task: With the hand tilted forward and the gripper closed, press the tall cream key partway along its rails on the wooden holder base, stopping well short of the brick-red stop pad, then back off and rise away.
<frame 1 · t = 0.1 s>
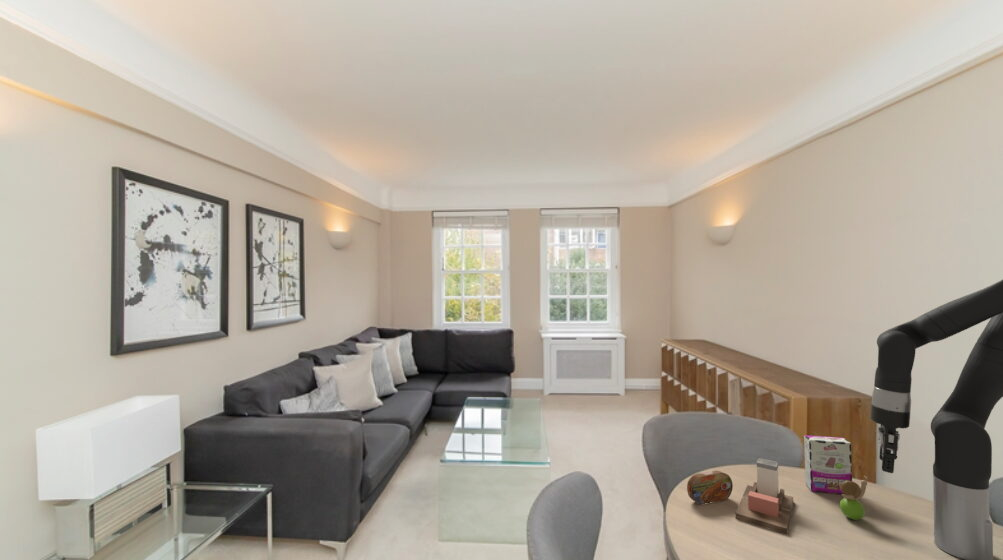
hand: (886, 465, 110), 17 cm above the table, tool pointing down, fingers open, 8 cm apart
candy bar box: (828, 490, 131), on the table
wooden holder base: (765, 509, 121), on the table
tin: (709, 501, 126), on the table
stop pad: (763, 510, 118), resting on wooden holder base
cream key: (767, 478, 125), point 7 cm above the table, slide at 0.0 cm
snail figurine: (854, 519, 116), on the table
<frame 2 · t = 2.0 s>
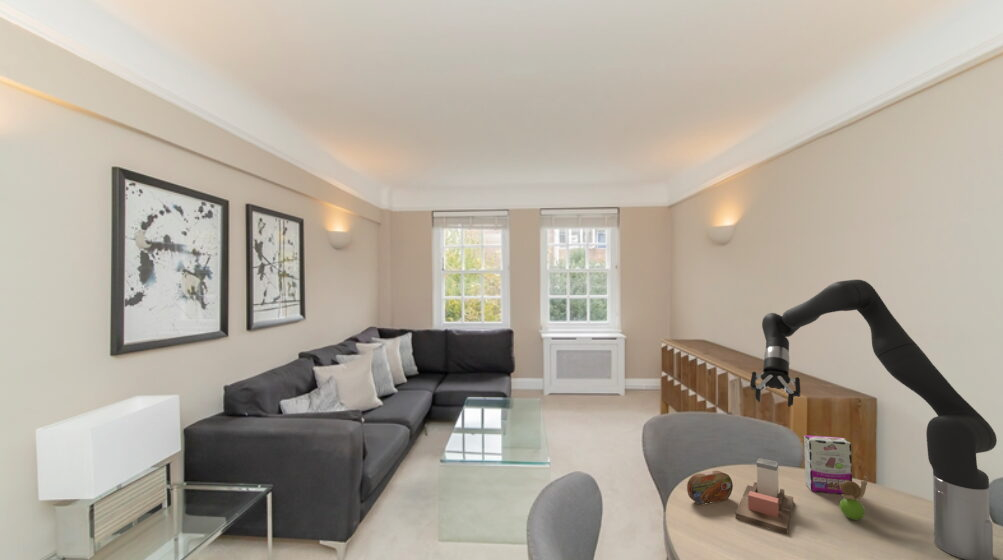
hand: (773, 403, 138), 26 cm above the table, tool tilted 40°, fingers open, 8 cm apart
nothing on the table moved.
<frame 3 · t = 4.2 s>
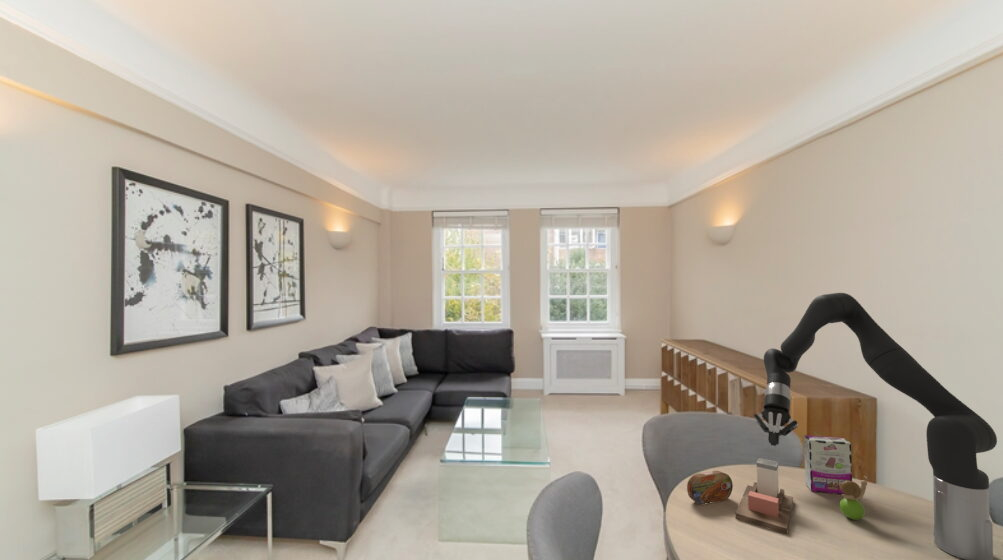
hand: (773, 444, 136), 13 cm above the table, tool tilted 45°, fingers closed
nothing on the table moved.
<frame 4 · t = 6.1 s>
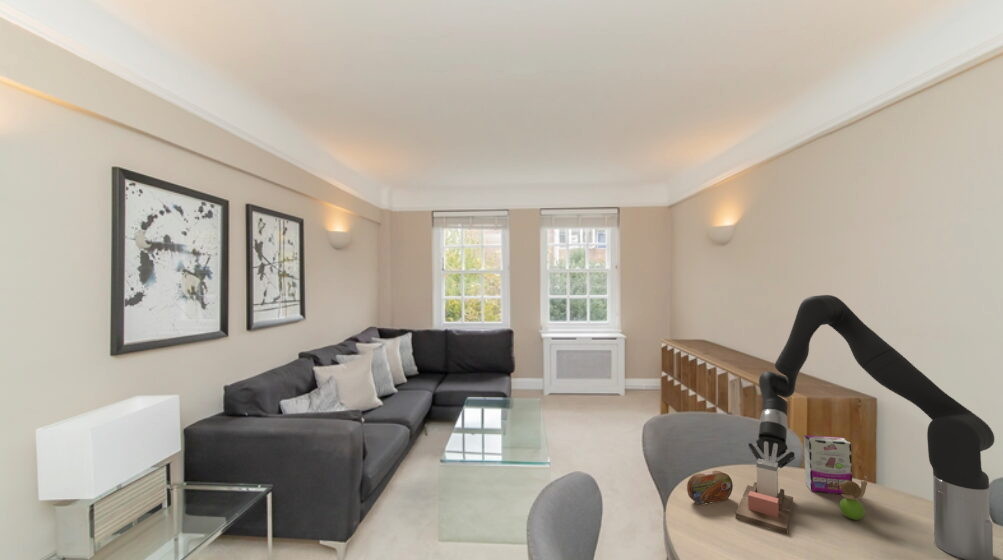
hand: (768, 477, 127), 6 cm above the table, tool tilted 45°, fingers closed
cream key: (767, 479, 125), point 7 cm above the table, slide at 0.4 cm, touching gripper
everything else where it was.
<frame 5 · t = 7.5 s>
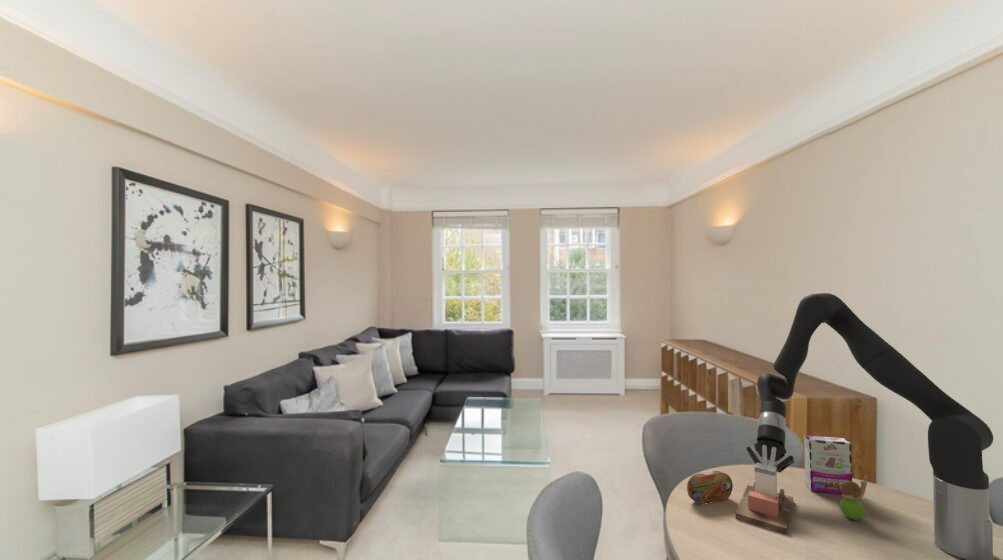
hand: (767, 482, 124), 6 cm above the table, tool tilted 45°, fingers closed
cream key: (765, 483, 122), point 7 cm above the table, slide at 4.0 cm, touching gripper
everything else where it was.
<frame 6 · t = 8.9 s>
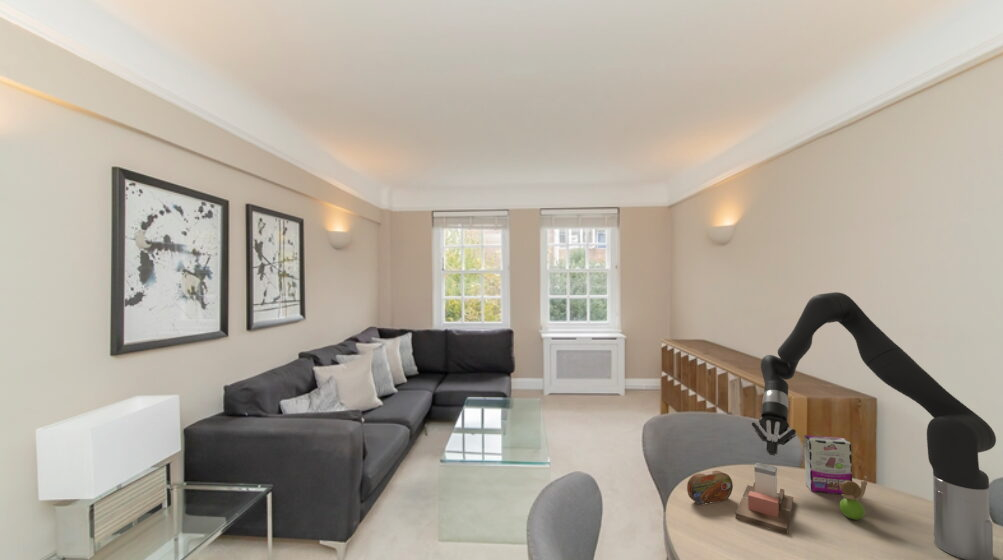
hand: (771, 454, 133), 11 cm above the table, tool tilted 45°, fingers closed
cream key: (765, 483, 122), point 7 cm above the table, slide at 4.0 cm
everything else where it was.
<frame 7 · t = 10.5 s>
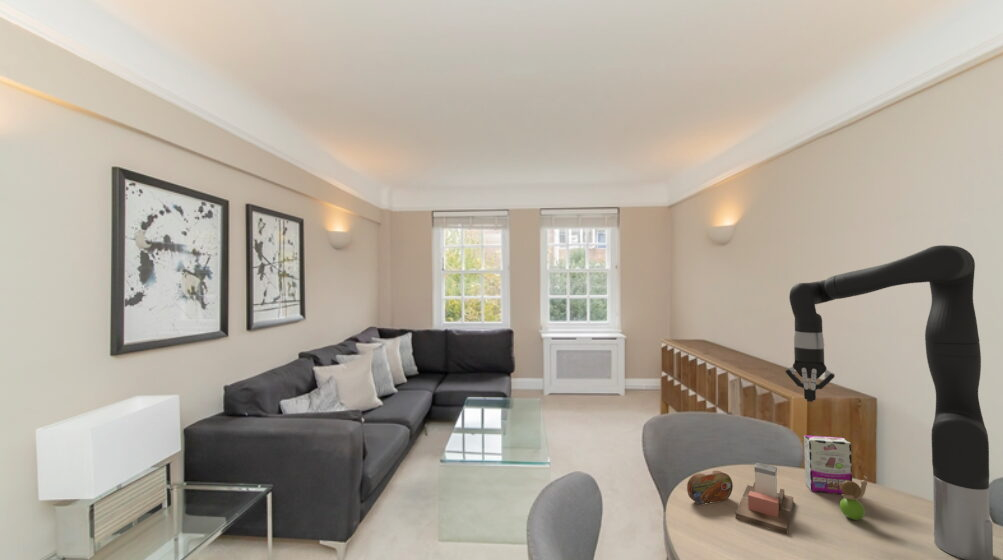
hand: (810, 401, 130), 29 cm above the table, tool pointing down, fingers closed
nothing on the table moved.
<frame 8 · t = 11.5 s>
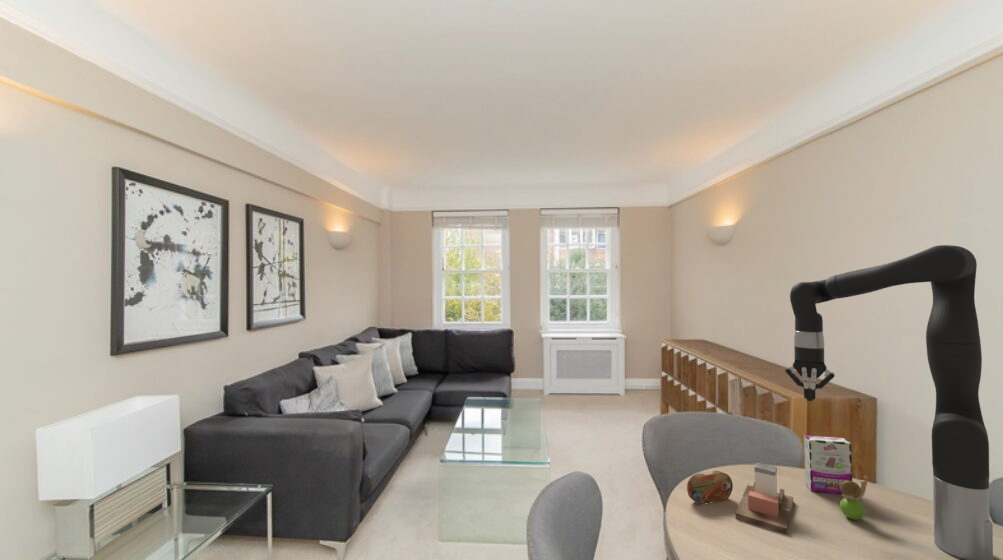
hand: (809, 400, 130), 29 cm above the table, tool pointing down, fingers closed
nothing on the table moved.
at the end: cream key slide at 4.0 cm; the gripper is holding nothing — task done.
